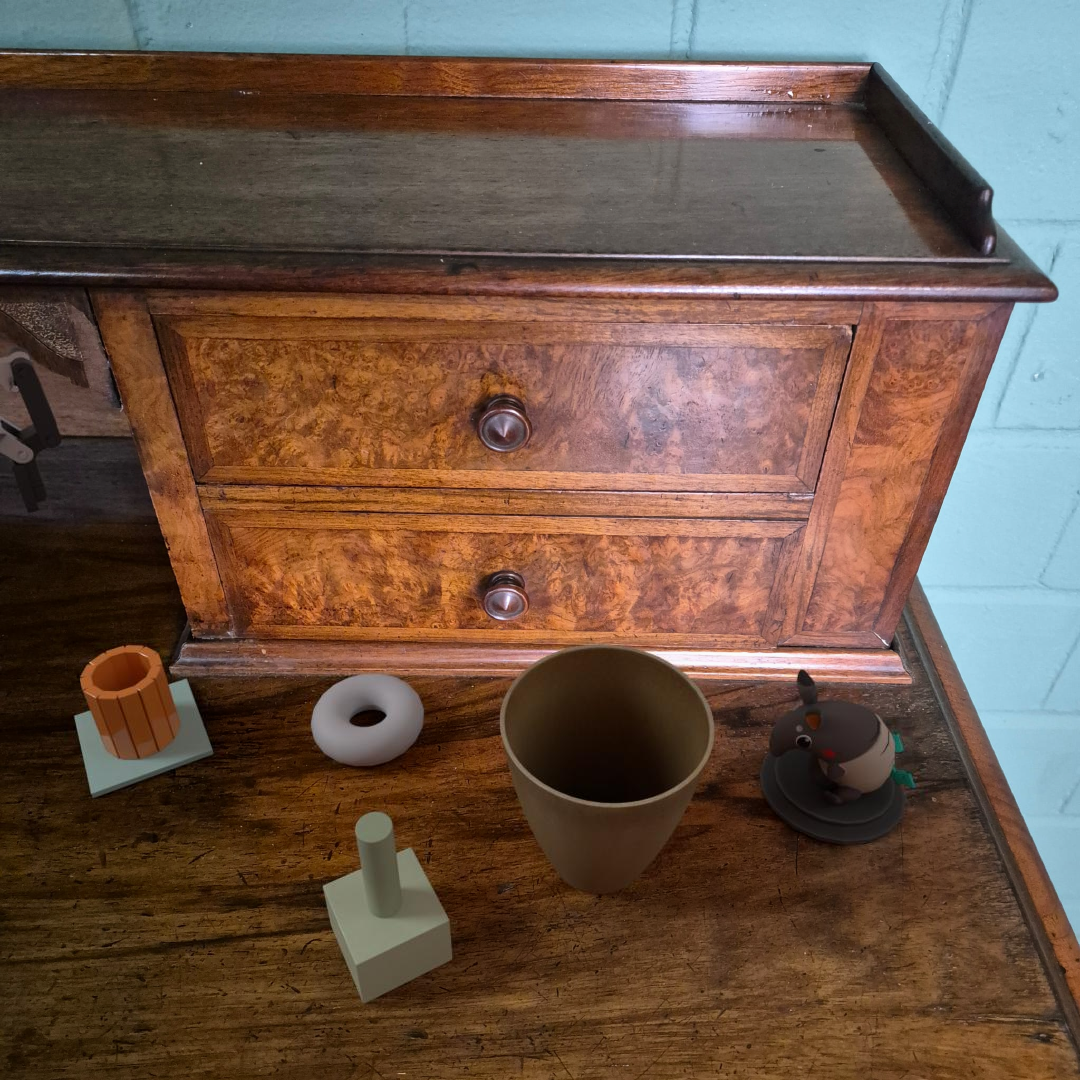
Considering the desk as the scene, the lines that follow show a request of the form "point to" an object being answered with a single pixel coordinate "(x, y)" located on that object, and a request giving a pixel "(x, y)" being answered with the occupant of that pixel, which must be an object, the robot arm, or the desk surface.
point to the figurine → (834, 770)
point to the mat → (120, 772)
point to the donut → (375, 740)
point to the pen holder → (130, 701)
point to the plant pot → (604, 758)
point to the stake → (386, 913)
